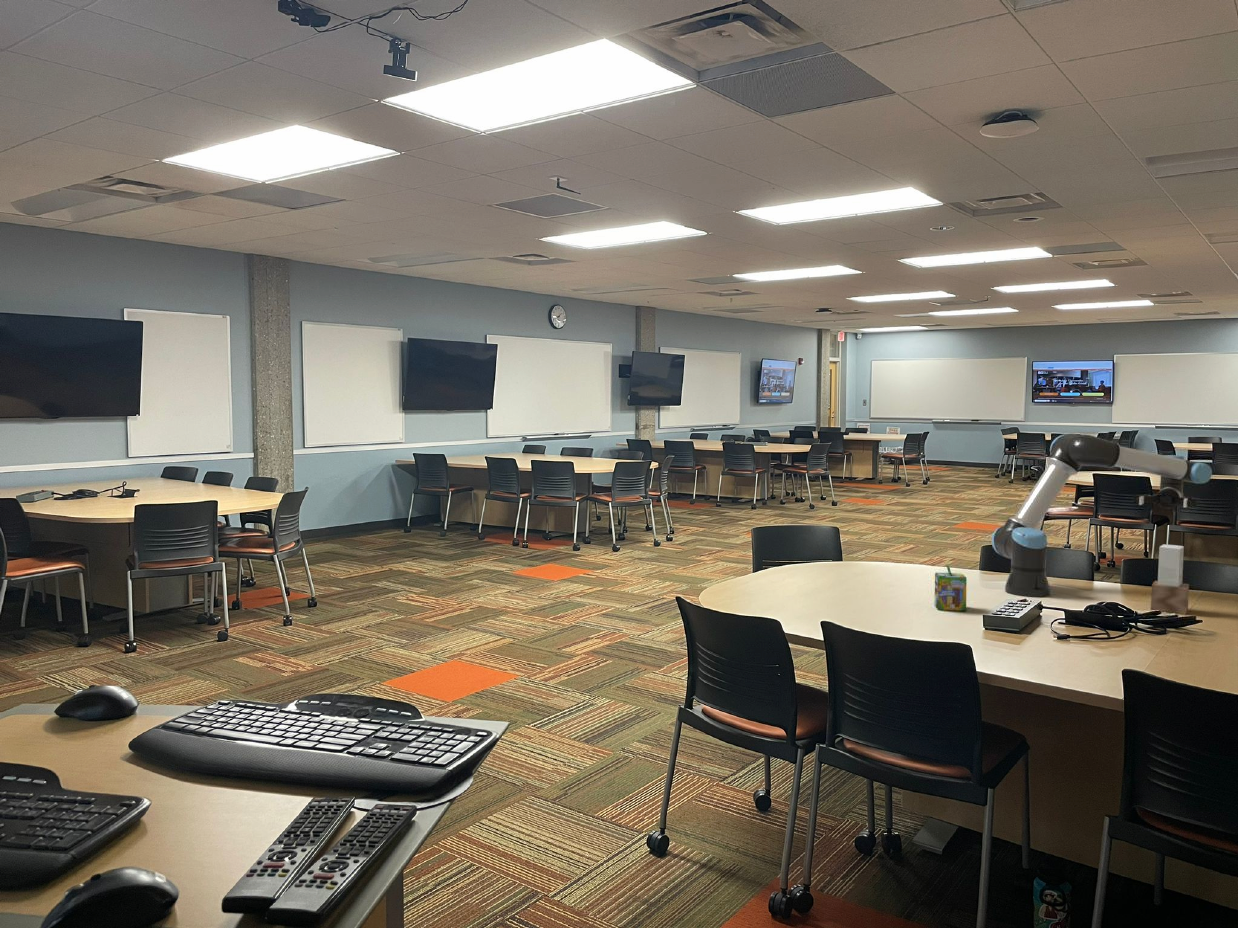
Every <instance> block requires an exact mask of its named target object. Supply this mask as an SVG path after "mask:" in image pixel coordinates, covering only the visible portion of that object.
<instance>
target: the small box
mask: <svg viewBox="0 0 1238 928" xmlns="http://www.w3.org/2000/svg"><path fill="white" fill-rule="evenodd" d="M1158 547H1159V548H1158V570H1157V571H1158V573H1157V581H1158V585H1163V586H1172V587H1179V586H1180V585H1181V584H1182V583H1183V575H1184V574H1183V570H1184V549H1185V546H1183V545H1176V544H1165V543H1164V544H1162V545H1160V546H1158Z"/></svg>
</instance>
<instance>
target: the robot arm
mask: <svg viewBox="0 0 1238 928" xmlns="http://www.w3.org/2000/svg"><path fill="white" fill-rule="evenodd" d="M1049 452H1050V453H1049V455H1048V457H1047V463H1048V465H1047V466H1046V468H1045V470H1044V472H1043V473H1042V474H1041V475H1040V477H1039V479H1038V481H1037V482H1036V484H1035V485H1034V487H1033V488H1032V490H1031V491H1030V493H1029V494H1028V496H1027V497H1026V498H1025V501H1024V502H1023V503H1022V504H1021V506H1020V508H1019V510H1018V511H1017V512H1016V514H1015V516H1013V517H1009V518H1008V519H1007V520H1006V522H1005V523H1004V525H1002V526H999V527H998V528H996V529H995V530H994V532H993V533H992V535H991V541H990V542H991V545H992V549H994V551H995V553H997V554H998V555H999V556H1001V557H1003V558H1007V559H1009V560H1011V561H1010V567H1011V568H1010V572H1009V574H1008V577H1007V580H1006V583H1005V585H1004V586H1005V589H1004V590H1005V592H1006V593H1007V594H1008V593H1009V594H1012V595H1016V596H1022V597H1023V596H1024V597H1025V596H1026V597H1034V598H1035V597H1036V598H1037V597H1040V598H1041V597H1048V596H1050V595H1051V587H1050V584H1049V583H1050V582H1049V580H1048V577H1047V574H1046V573H1047V572H1046V568H1047V548H1048V547H1047V546H1048V536H1047V533H1046V532H1044V531H1043V530H1041V529H1039V528H1038V526H1039V525H1040V523H1041V521H1042V520H1043V518H1044V516H1045V515H1046V513H1048V511H1049V509H1050V508H1051V506H1052V505H1053V503H1054V501H1056V498H1057V497H1058V496H1059V494H1060V493H1061V491H1062V490H1063V488H1064V486H1065V484H1066V483H1067V481H1068V480H1069V479H1070V478H1071V476H1075V475H1077V474H1078V472H1079V471H1080V470H1081V468H1082V467H1083V466H1084V467H1101V468H1108V469H1111V468H1114V467H1117V468H1121V469H1126V470H1131V471H1136V472H1141V473H1146V474H1150V475H1156V476H1160V482H1159V491H1158V492H1157V493H1155V494H1153V495H1151V494H1139V495H1138V494H1133V495H1132V503H1137V505H1138V506H1142V505H1143V504H1145V503H1146V504H1148V503H1149V504H1150V503H1151V504H1152V503H1153V504H1154V505H1158V506H1159V507H1161V508H1162V509H1166V510H1167V509H1168V510H1169V509H1173V508H1175V507H1177V506H1179V505H1180V506H1183V508H1187V507H1191V506H1192V507H1198V503H1199V499H1198V498H1194V497H1192V496H1184V492H1183V491H1184V482H1186V483H1193V484H1206V483H1208V482H1209V481H1210V480H1211V478H1212V475H1213V470H1212V467H1211V466H1210V465H1209V464H1206V463H1205V462H1200V461H1199V462H1196V461H1192V460H1191V461H1190V460H1187V459H1185V457H1184V456H1183V455H1176V454H1175V455H1174V454H1166V455H1165V454H1164V455H1163V454H1158V453H1154V452H1148V451H1145V450H1139V449H1135V448H1130V447H1126V446H1125V447H1124V446H1121V445H1120V444H1119V443H1118V442H1114V441H1112V440H1111V441H1110V440H1107V439H1103V438H1101V437H1097V436H1094V435H1091V434H1077V433H1065V434H1061V435H1059V436H1057V437H1055V439H1054V440H1053V441H1052V442H1051V444H1050V448H1049ZM1037 528H1038V529H1037Z"/></svg>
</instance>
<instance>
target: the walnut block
mask: <svg viewBox="0 0 1238 928" xmlns="http://www.w3.org/2000/svg"><path fill="white" fill-rule="evenodd" d="M1189 593H1190V583H1183V582H1182V584H1181V585H1180V586H1179V587H1172V586H1163V585H1158V580H1155V581H1153V583H1152V585H1151V593H1150V594H1151V595H1150V597H1151V598H1150V611H1151V610H1159V611H1161V612H1160V613H1164V612H1166V613H1165V614H1172V613H1175V615H1183V616H1186V615H1187V613H1188V610H1189V596H1190V595H1189Z"/></svg>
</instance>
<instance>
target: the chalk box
mask: <svg viewBox="0 0 1238 928" xmlns="http://www.w3.org/2000/svg"><path fill="white" fill-rule="evenodd" d="M945 565H946V569H947V572H935V573H934V602H933V603H934V604H933V605H934V607H935V608H936V610H938V611H956V612H957V611H959V612H967V576H965V575H964V574H962V573H960V572H959V573H957V572H951V569H950V568H951V567H950V566H949V564H948V563H946V564H945Z"/></svg>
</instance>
